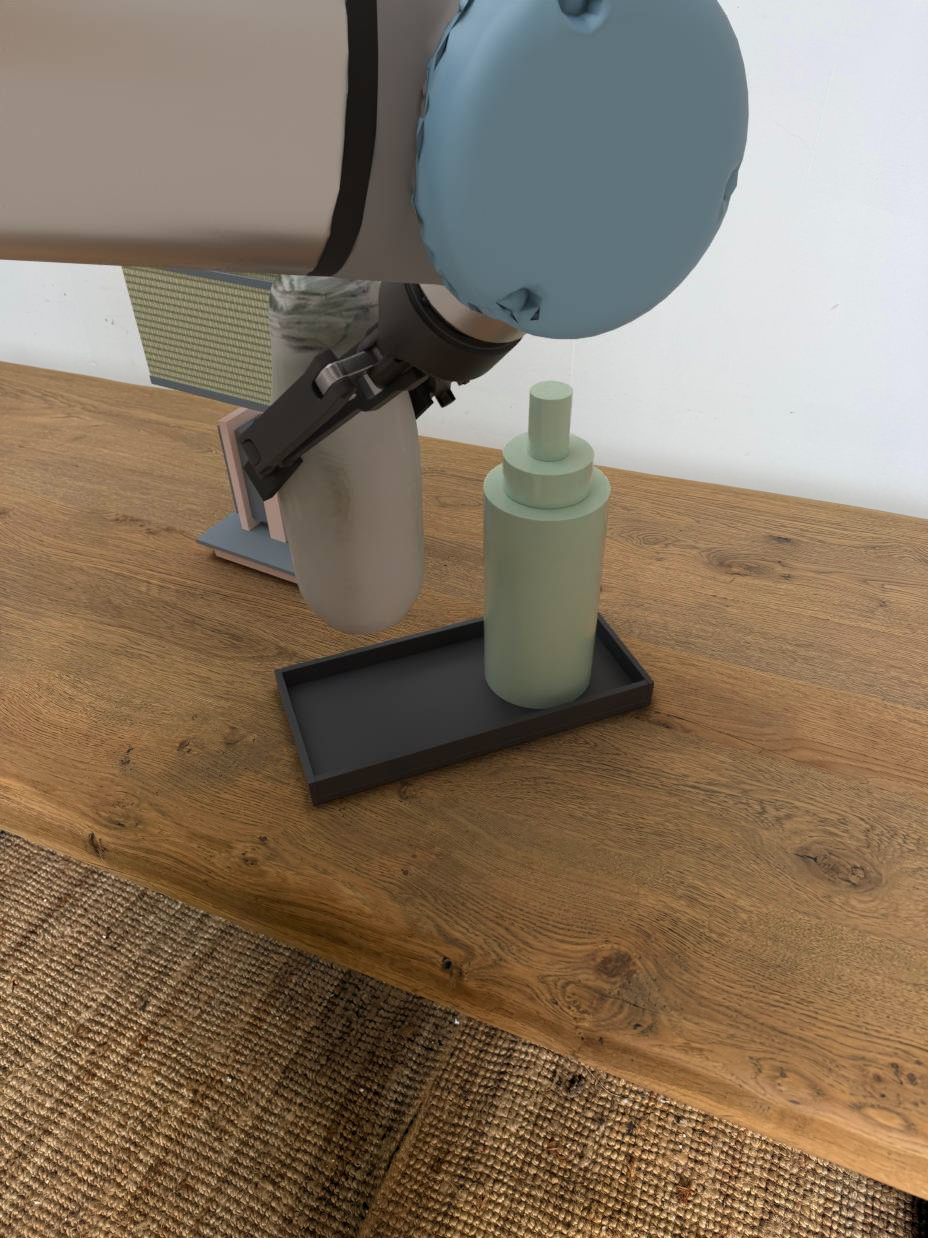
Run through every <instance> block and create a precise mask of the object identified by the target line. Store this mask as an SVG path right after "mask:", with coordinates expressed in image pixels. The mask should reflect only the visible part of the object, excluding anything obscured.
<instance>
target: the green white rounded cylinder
mask: <svg viewBox="0 0 928 1238" xmlns="http://www.w3.org/2000/svg"><path fill="white" fill-rule="evenodd" d="M380 284H381V281H368V280H353V279H341V278H334V277H322V276H301V275H282V274H277V276H276V278H275V280H274V282H273V284H272V288H271V291H270V296H269V326H270V338H271V354H272V381H271V398H270V406H271V405H272V404H273V403H274V402H275V401H276V400H277V399H278V398H279V397H280V396H281V395H282V394H283V393H284V392H285V391H286V390H287V389H288V388H289V387H290V386H291V385H292V384H293V383H295V382H296V381H297V380H298V379H299V378H300V377H301V376H302V375H303V374H304V373H305V371H306V369H307V368H308V366H309V365H310V363H311V362H312V360H313V359H314V357H315V356H316V355H317V354H318V353H319V352H320V351H322V350H326V349H328V348H332V349H333V350H334V352H335V354H336V356H337V357H338V358H340V357H341V356H342V355H343V354H345V353H346V352H347V351H348V350H350V349H351V348H352V347H353V346H355V345H356V344H357V343H358V342H360V341H361V340H362V339H364V337H365V335H366V332H367V330H368V329H369V328H370V327H371V326H373V325H374V324H375V323H376V322H378V317H379V310H378V295H379V288H380ZM364 377H365V379H366V381H367V382H368V384H369V386H370V388H371V389H372V391H373V393H374V394H375V395H376V394H377V393H379V392H380V391H381V389H379V388H377V387H376V386H375V385H374V384H373V382H372V381H371V379H370V378H369V376H368V375H367V374H366V375H364ZM301 458H302V460H303V462H302V464H301V465H300V466H299V467H298V468H297V469H296V471H295V472H294V473H293V474H292V475H291V477H290V478H289V479H288V480H287V481H286V482H285V483H284V485H283V486H282V487H281V488H280V490H279V491H278V496H279V501H280V505H281V510H282V514H283V518H284V523H285V528H286V533H287V538H288V543H289V548H290V554H291V559H292V564H293V569H294V573H295V577H296V580H297V586H298V589H299V593H300V594H301V596H302V598H303V600H304V602H305V604H306V606H307V607H308V608H309V609H310V610H311V611H312V613H313V614H315V616H317V617H318V618H319V619H320V620H321V621H322V622H324V623H325V624H326V625H328V626H329V627H331V628H332V629H334V630H336V631H338V632H341V633H343V634H348V635H355V636H357V635H358V636H369V635H373V634H377V633H382V632H384V631H387V630H389V629H391V628H392V627H394V626H395V625H397V624H398V623H399V622H400V621H402V620H403V618H405V616H406V615H407V614H408V613H409V611H410V610H411V609H412V608H413V607H414V605H415V604H416V602H417V600H418V598H419V596H420V593H421V591H422V587H423V584H424V578H425V570H426V569H425V568H426V567H425V566H426V565H425V564H426V552H425V551H426V550H425V549H426V547H425V531H424V513H423V512H424V509H423V507H424V506H423V481H422V480H423V479H422V478H423V477H422V461H421V458H422V457H421V447H420V439H419V430H418V424H417V420H416V418H415V414H414V410H413V406H412V403H411V399H410V396H409V392H408V390H407V391H403V392H402V393H400V394H399V395H397V396H396V397H395V398H393V399H392V400H391V401H389V402H388V403H387V404H385V405H384V406H382V407H381V408H380V409H378V410H376V411H368V412H363V411H361V412H360V413H359V414H357V415H356V416H354V417H353V418H352V419H350V420H349V421H348V422H346V423H345V424H344V425H342V426H341V427H340V428H338V429H337V430H336V431H334V432H333V433H332V434H330V435H329V436H328V437H326V438H325V439H323V440H322V441H321V442H319V443H318V444H317V445H315V446H314V447H313V448H311V449H310V450H309V451H307V452H306V453H305V454H303V455H302V456H301Z"/></svg>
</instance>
